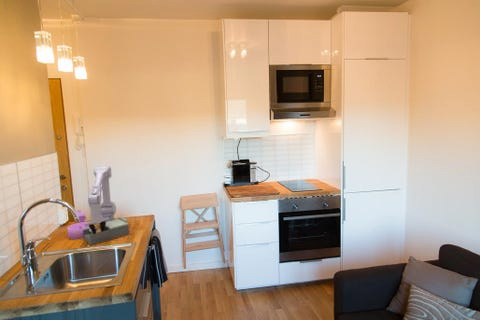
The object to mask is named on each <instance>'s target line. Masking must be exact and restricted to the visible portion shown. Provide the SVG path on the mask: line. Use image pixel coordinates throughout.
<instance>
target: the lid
mask: <svg viewBox="0 0 480 320" xmlns="http://www.w3.org/2000/svg"><path fill="white" fill-rule="evenodd" d="M126 225H130V224H129V221H128V219H126V218H124V217H123V216H121V215H120V216H119V215H118V219H114V220H113V221H109V222H106V225H105V227H107V228H108V229H114V228H118V227H122V226H126Z"/></svg>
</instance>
